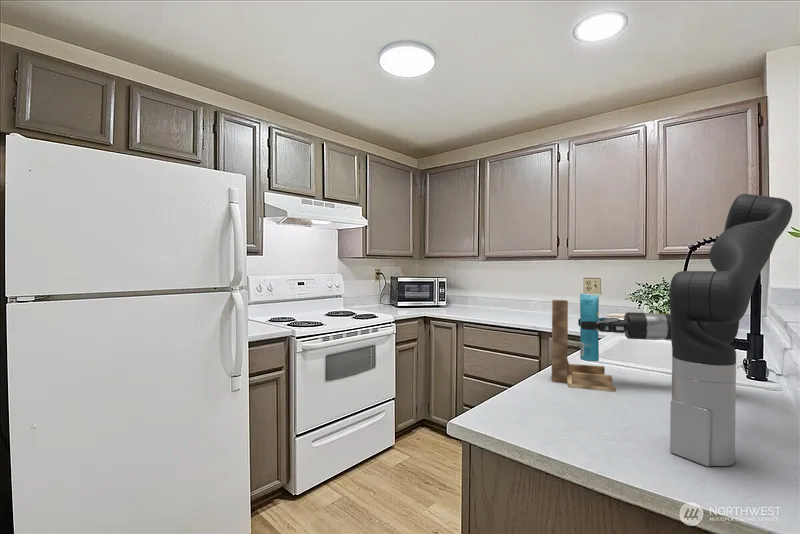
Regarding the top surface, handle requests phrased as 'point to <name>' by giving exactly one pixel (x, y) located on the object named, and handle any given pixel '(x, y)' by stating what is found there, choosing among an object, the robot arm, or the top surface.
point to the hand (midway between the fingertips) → (580, 323)
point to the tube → (588, 337)
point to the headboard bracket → (560, 366)
